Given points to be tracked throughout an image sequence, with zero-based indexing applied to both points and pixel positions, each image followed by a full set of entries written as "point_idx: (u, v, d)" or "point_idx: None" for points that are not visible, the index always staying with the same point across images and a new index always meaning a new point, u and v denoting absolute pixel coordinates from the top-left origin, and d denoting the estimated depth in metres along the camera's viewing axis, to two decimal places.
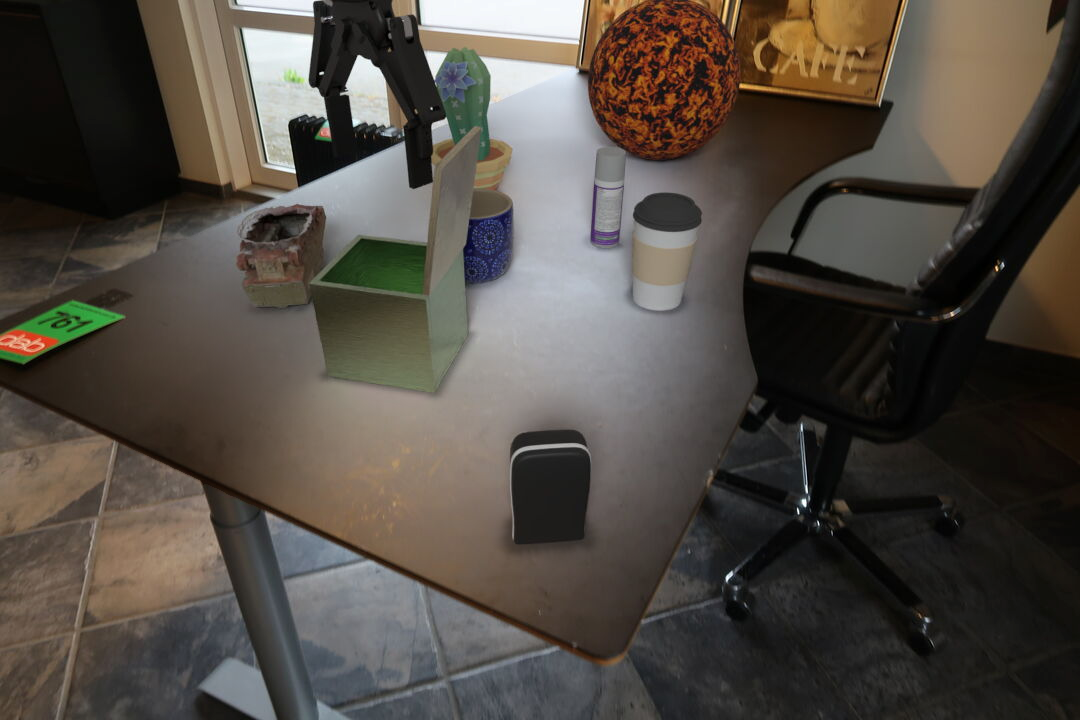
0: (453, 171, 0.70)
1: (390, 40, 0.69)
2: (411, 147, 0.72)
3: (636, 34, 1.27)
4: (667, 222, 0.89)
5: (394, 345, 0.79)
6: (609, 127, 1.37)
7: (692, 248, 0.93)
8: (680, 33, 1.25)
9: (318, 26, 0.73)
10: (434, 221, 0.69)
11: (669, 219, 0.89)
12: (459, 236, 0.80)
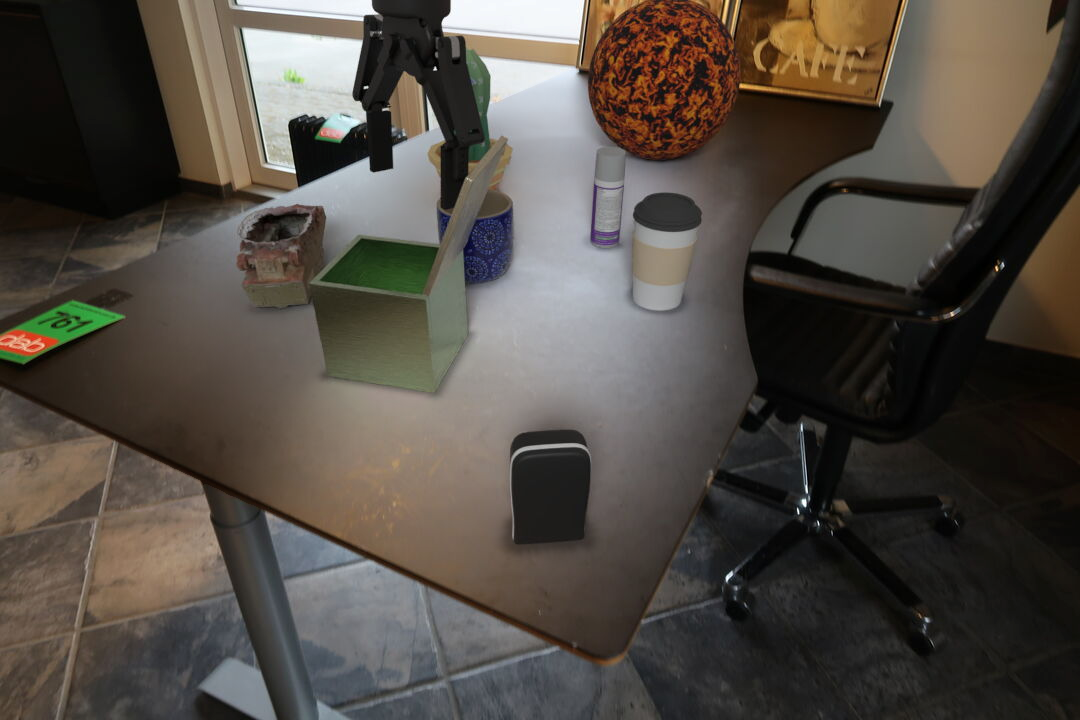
0: (478, 182, 0.70)
1: (437, 59, 0.69)
2: (446, 167, 0.71)
3: (636, 34, 1.27)
4: (667, 222, 0.89)
5: (394, 345, 0.79)
6: (609, 127, 1.37)
7: (692, 248, 0.93)
8: (680, 33, 1.25)
9: (367, 40, 0.73)
10: (452, 228, 0.69)
11: (669, 219, 0.89)
12: (464, 238, 0.80)
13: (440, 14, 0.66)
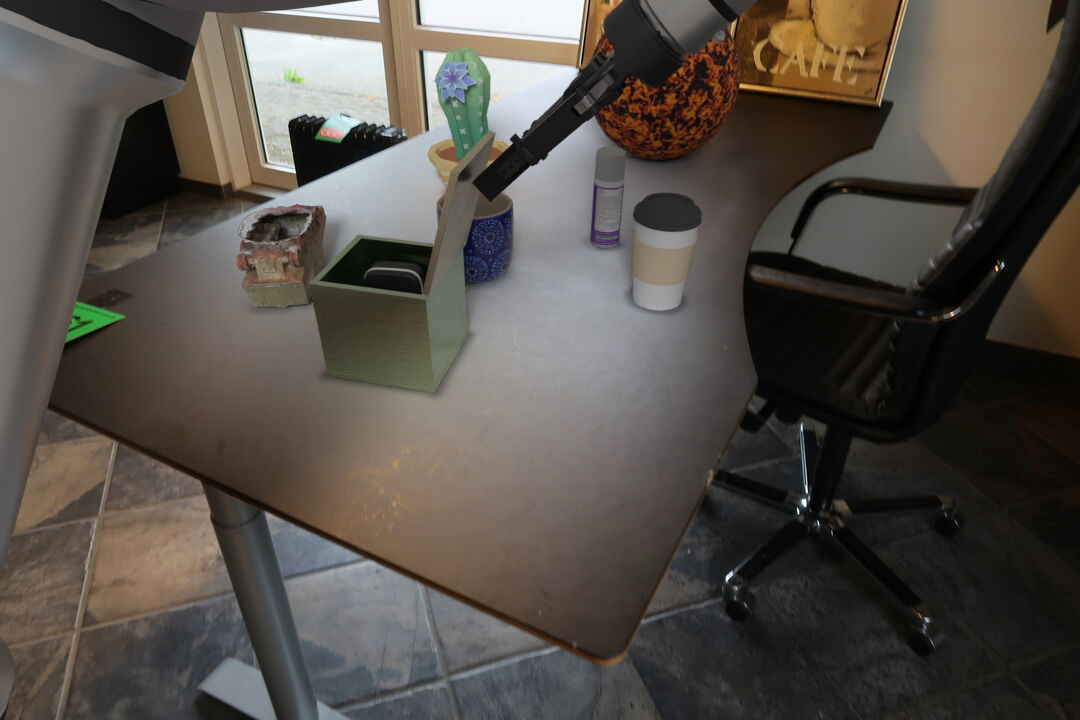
0: (466, 176, 0.70)
1: None
2: (502, 156, 0.69)
3: None
4: (667, 222, 0.89)
5: (394, 345, 0.79)
6: (609, 127, 1.37)
7: (692, 248, 0.93)
8: None
9: None
10: (443, 224, 0.69)
11: (669, 219, 0.89)
12: (461, 237, 0.80)
13: (632, 67, 0.59)
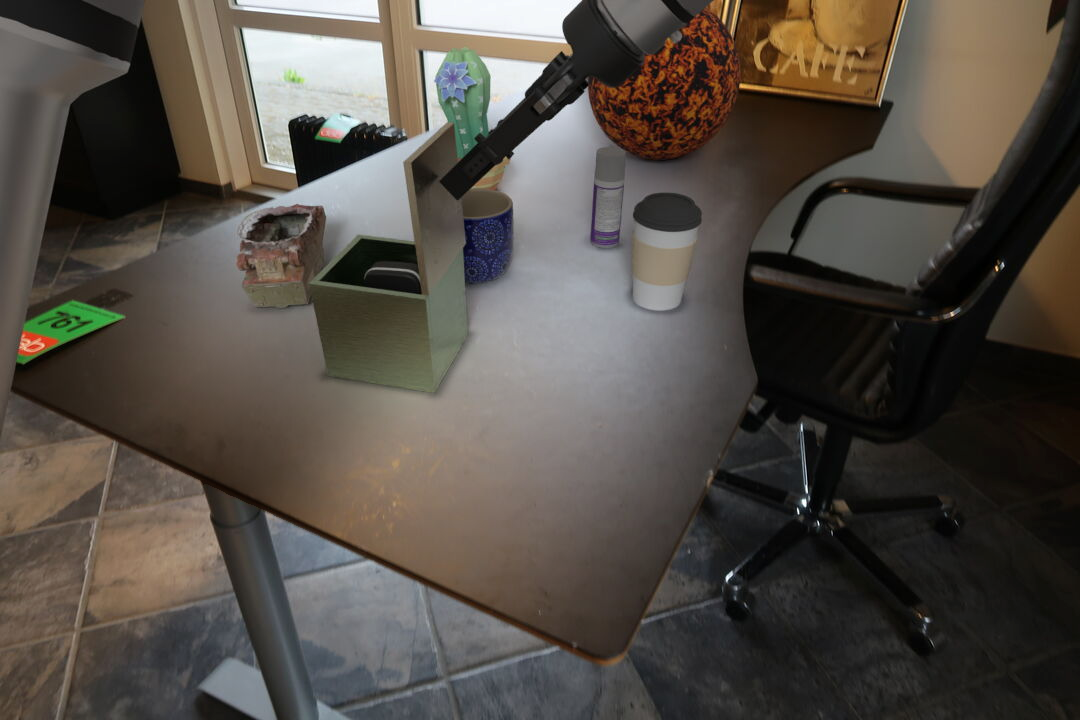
0: (427, 166, 0.70)
1: (556, 97, 0.62)
2: (467, 155, 0.70)
3: None
4: (667, 222, 0.89)
5: (394, 345, 0.79)
6: (609, 127, 1.37)
7: (692, 248, 0.93)
8: None
9: None
10: (416, 217, 0.69)
11: (669, 219, 0.89)
12: (454, 234, 0.80)
13: (589, 67, 0.60)
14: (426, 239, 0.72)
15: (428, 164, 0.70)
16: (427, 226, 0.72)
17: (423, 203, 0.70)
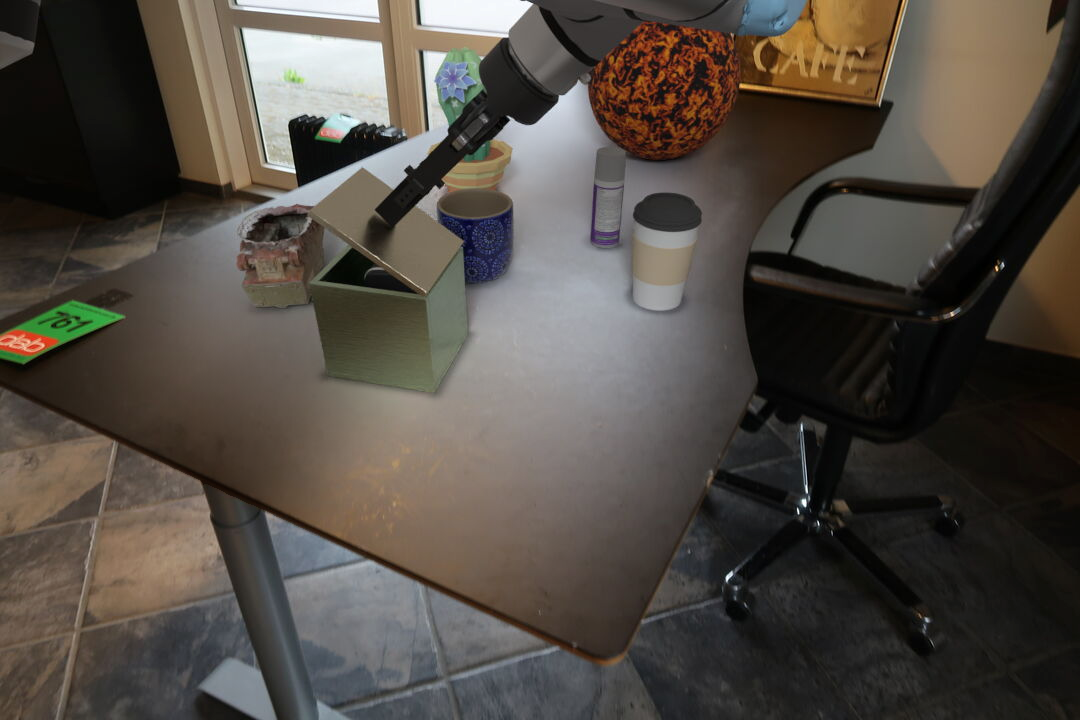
0: (340, 205, 0.75)
1: (475, 134, 0.66)
2: (399, 186, 0.74)
3: (636, 34, 1.27)
4: (667, 222, 0.89)
5: (394, 345, 0.79)
6: (609, 127, 1.37)
7: (692, 248, 0.93)
8: (680, 33, 1.25)
9: None
10: (355, 244, 0.73)
11: (669, 219, 0.89)
12: (435, 239, 0.81)
13: (503, 108, 0.64)
14: (384, 254, 0.74)
15: (341, 204, 0.75)
16: (378, 245, 0.74)
17: (356, 231, 0.74)
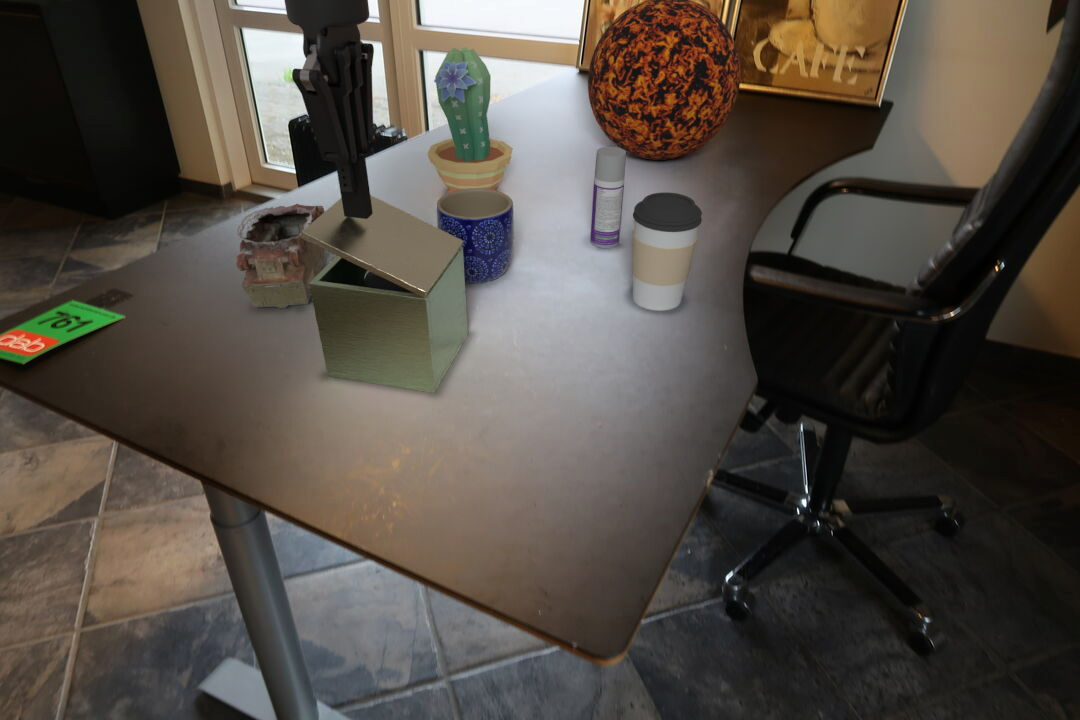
0: (332, 224, 0.76)
1: (325, 69, 0.66)
2: None
3: (636, 34, 1.27)
4: (667, 222, 0.89)
5: (394, 345, 0.79)
6: (609, 127, 1.37)
7: (692, 248, 0.93)
8: (680, 33, 1.25)
9: None
10: (350, 257, 0.74)
11: (669, 219, 0.89)
12: (433, 243, 0.81)
13: (316, 23, 0.63)
14: (380, 262, 0.75)
15: (334, 222, 0.77)
16: (373, 254, 0.75)
17: (350, 244, 0.75)
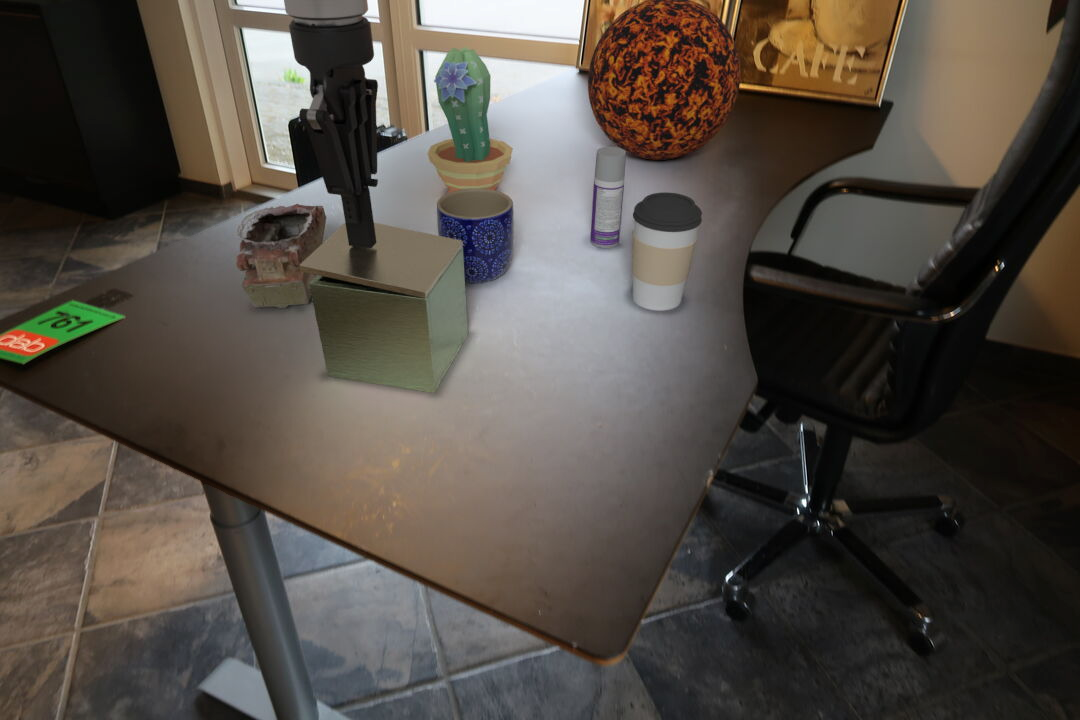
0: (329, 252, 0.79)
1: (331, 108, 0.68)
2: None
3: (636, 34, 1.27)
4: (667, 222, 0.89)
5: (394, 345, 0.79)
6: (609, 127, 1.37)
7: (692, 248, 0.93)
8: (680, 33, 1.25)
9: None
10: (347, 277, 0.75)
11: (669, 219, 0.89)
12: (431, 248, 0.82)
13: (322, 65, 0.65)
14: (377, 275, 0.76)
15: (331, 251, 0.79)
16: (370, 270, 0.76)
17: (347, 266, 0.77)
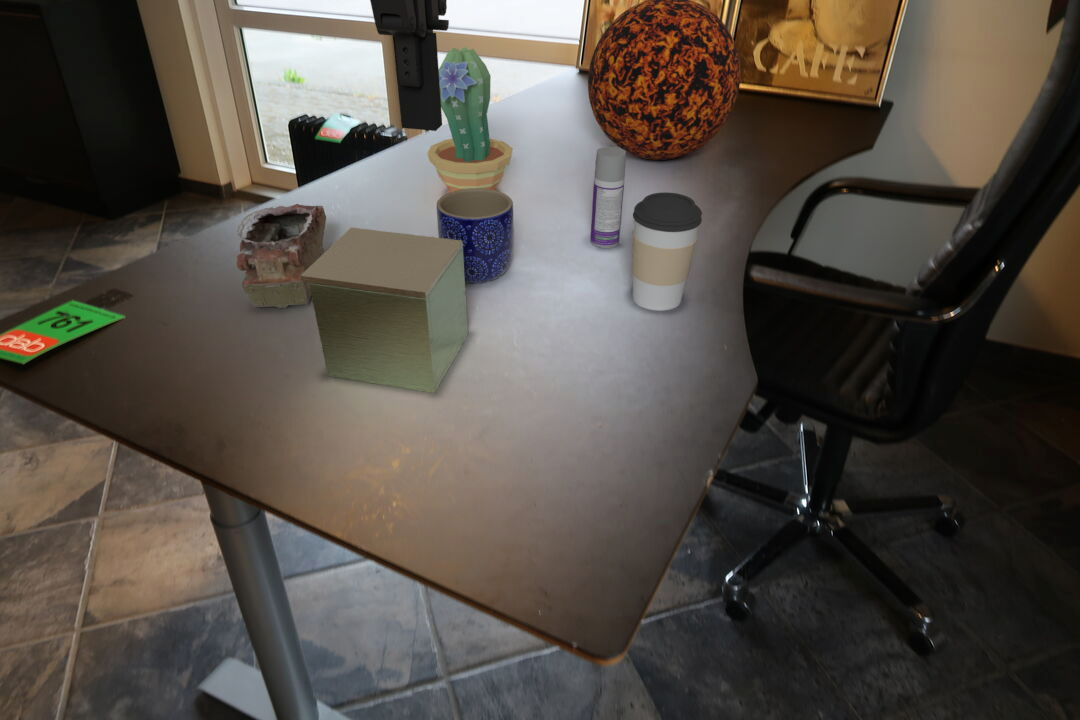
0: (330, 261, 0.79)
1: None
2: (397, 65, 0.50)
3: (636, 34, 1.27)
4: (667, 222, 0.89)
5: (394, 345, 0.79)
6: (609, 127, 1.37)
7: (692, 248, 0.93)
8: (680, 33, 1.25)
9: None
10: (348, 283, 0.76)
11: (669, 219, 0.89)
12: (431, 250, 0.82)
13: None
14: (377, 279, 0.76)
15: (331, 259, 0.80)
16: (370, 275, 0.77)
17: (347, 273, 0.77)
